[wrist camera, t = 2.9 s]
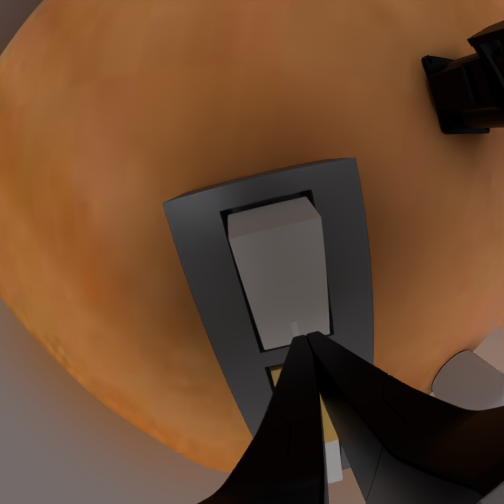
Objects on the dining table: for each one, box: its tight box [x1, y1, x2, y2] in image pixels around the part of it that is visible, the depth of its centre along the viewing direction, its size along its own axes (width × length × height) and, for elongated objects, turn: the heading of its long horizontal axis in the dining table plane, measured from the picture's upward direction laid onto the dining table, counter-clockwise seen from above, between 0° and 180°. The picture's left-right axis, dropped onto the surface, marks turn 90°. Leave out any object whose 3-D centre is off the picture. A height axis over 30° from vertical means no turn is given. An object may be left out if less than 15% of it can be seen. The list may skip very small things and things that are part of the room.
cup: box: [432, 350, 504, 410], centre depth 17 cm, size 9×9×12 cm
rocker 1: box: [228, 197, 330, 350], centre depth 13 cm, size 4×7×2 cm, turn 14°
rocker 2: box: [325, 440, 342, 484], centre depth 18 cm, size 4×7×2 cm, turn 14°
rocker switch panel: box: [163, 158, 374, 470], centre depth 18 cm, size 9×28×5 cm, turn 14°
